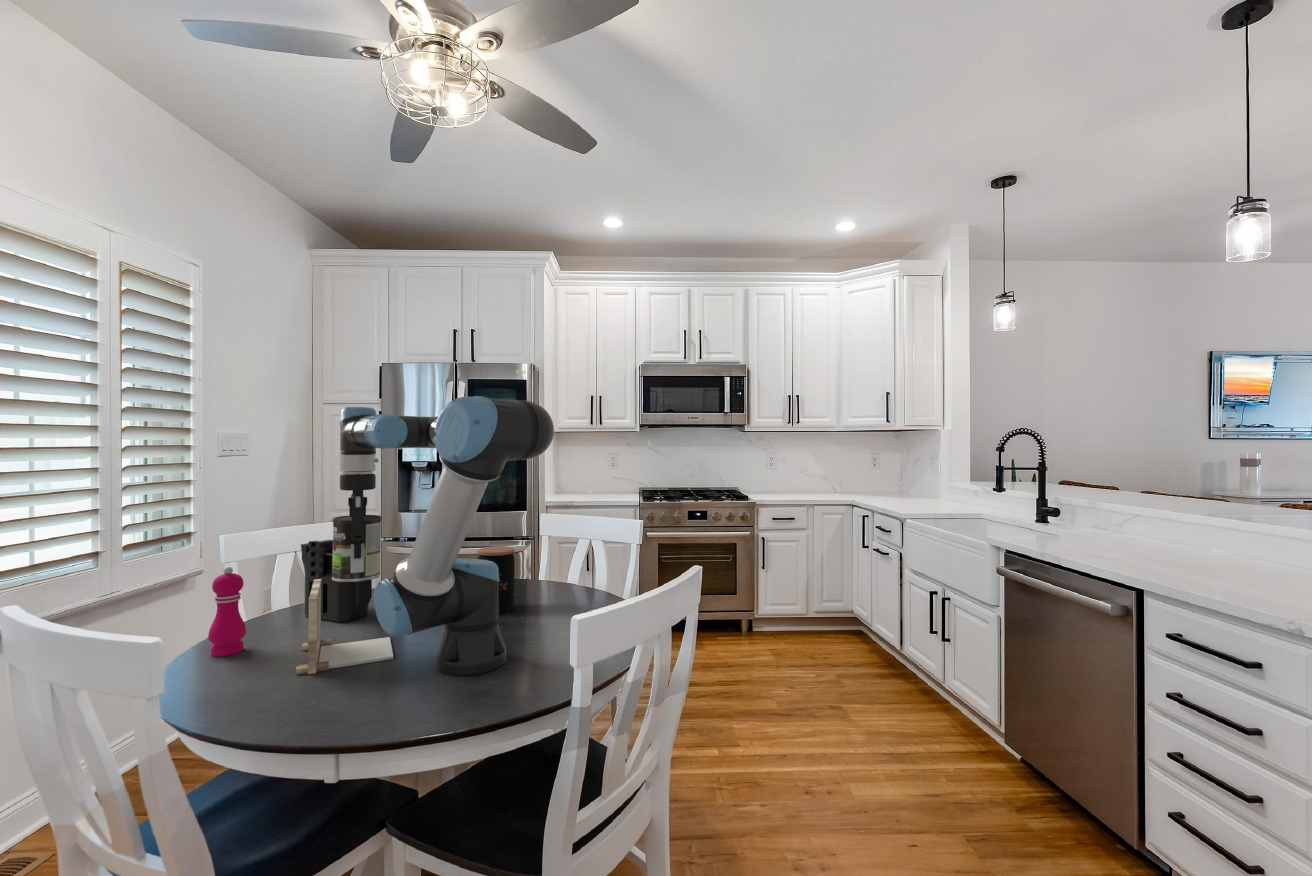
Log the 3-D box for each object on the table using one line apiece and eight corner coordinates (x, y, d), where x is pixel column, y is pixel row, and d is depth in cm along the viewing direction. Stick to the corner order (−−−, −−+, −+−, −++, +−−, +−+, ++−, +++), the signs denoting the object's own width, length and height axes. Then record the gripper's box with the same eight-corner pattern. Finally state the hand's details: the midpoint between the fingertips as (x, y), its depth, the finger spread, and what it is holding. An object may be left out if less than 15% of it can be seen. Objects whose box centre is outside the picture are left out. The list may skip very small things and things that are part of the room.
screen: (328, 671, 126) (328, 597, 126) (295, 676, 123) (296, 600, 124) (331, 643, 144) (331, 578, 144) (302, 646, 141) (303, 580, 141)
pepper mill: (252, 649, 139) (253, 565, 140) (219, 659, 133) (220, 571, 133) (234, 644, 142) (235, 562, 143) (201, 654, 136) (202, 568, 136)
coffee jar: (470, 614, 169) (470, 551, 169) (487, 604, 180) (487, 545, 180) (505, 616, 167) (505, 553, 167) (519, 605, 178) (520, 546, 178)
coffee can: (341, 584, 130) (341, 521, 130) (325, 577, 137) (325, 517, 137) (388, 577, 137) (389, 517, 137) (370, 570, 144) (371, 513, 144)
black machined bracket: (329, 607, 175) (329, 534, 175) (379, 615, 167) (380, 538, 167) (291, 618, 164) (291, 540, 164) (343, 627, 156) (343, 545, 156)
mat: (393, 658, 134) (393, 656, 134) (317, 670, 127) (317, 667, 127) (389, 639, 147) (389, 636, 147) (321, 648, 140) (321, 646, 140)
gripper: (377, 475, 129) (376, 575, 129) (374, 470, 149) (373, 557, 149) (338, 475, 125) (337, 579, 125) (340, 471, 146) (339, 560, 145)
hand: (357, 567), depth 137 cm, fingers closed on coffee can, 10 cm apart
